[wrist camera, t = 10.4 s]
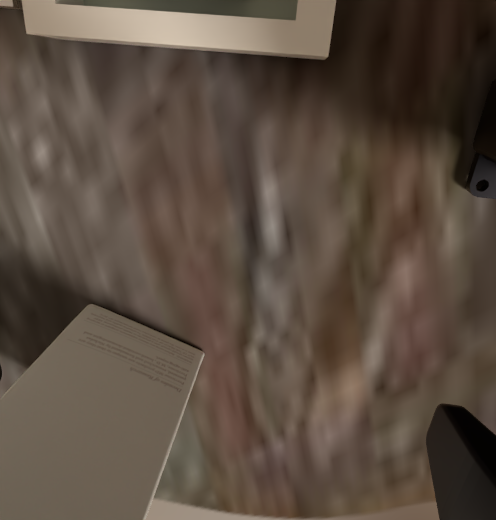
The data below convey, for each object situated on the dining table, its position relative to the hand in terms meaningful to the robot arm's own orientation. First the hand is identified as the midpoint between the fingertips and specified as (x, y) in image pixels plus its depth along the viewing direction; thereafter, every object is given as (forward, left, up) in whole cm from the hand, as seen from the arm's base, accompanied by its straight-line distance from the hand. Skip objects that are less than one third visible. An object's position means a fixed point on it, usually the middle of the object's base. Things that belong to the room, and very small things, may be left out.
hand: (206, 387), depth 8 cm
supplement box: (+7, +11, -12) cm, 18 cm away
